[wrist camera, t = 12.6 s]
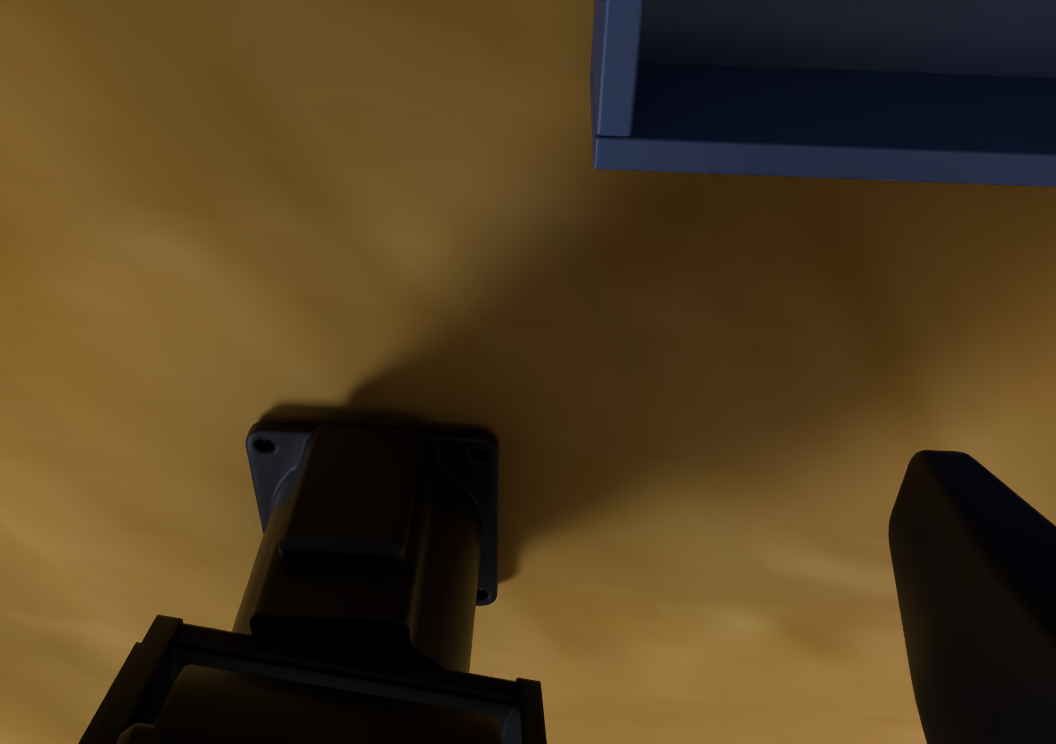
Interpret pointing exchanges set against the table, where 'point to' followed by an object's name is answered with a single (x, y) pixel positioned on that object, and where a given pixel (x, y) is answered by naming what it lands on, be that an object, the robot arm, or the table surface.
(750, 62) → the bottom bin
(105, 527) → the table surface
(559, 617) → the table surface
